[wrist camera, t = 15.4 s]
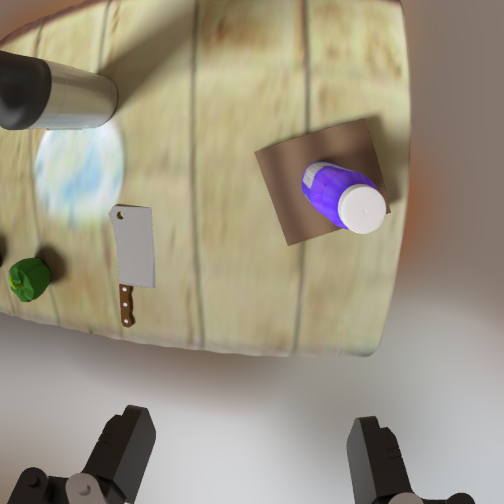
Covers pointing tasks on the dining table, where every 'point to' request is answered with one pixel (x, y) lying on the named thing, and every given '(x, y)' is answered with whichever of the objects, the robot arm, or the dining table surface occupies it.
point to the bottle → (344, 197)
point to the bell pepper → (29, 279)
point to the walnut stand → (295, 164)
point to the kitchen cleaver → (133, 253)
